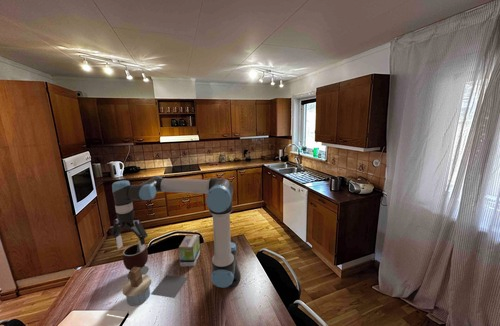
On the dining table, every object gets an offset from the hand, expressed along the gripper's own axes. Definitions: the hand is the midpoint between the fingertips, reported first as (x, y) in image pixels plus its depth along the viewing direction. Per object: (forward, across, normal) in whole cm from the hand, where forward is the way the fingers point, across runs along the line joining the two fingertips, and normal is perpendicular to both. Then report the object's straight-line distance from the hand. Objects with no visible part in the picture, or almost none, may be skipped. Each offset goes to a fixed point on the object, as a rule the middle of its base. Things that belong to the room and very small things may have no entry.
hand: (131, 248), depth 107 cm
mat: (+31, -12, -10) cm, 35 cm away
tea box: (+31, -13, -35) cm, 48 cm away
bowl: (+31, 0, 0) cm, 31 cm away
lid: (+23, 0, 0) cm, 23 cm away
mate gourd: (+31, +15, -18) cm, 39 cm away
